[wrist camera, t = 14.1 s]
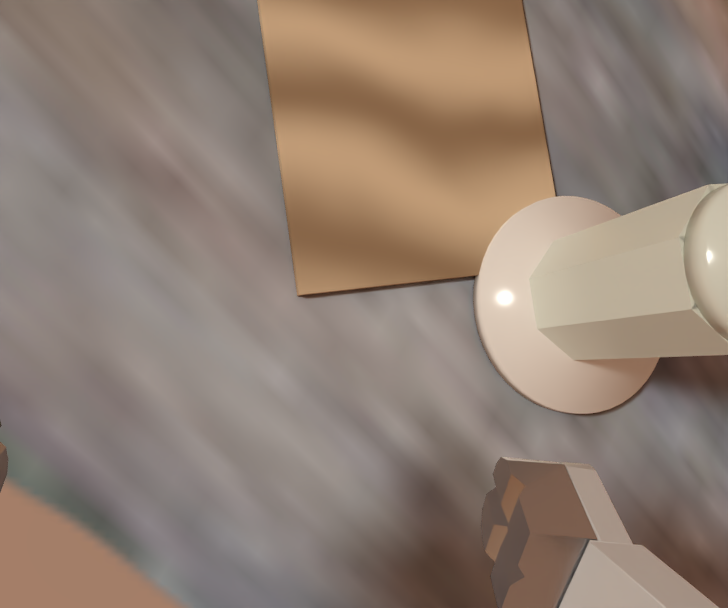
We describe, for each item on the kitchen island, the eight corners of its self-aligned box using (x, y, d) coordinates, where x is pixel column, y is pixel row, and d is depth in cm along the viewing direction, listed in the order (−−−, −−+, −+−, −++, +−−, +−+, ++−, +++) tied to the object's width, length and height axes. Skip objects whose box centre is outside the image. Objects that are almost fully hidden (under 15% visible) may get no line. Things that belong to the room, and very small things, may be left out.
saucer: (456, 207, 28) (464, 202, 27) (635, 194, 31) (646, 190, 31) (492, 430, 27) (501, 432, 27) (672, 393, 31) (684, 394, 30)
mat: (251, -44, 27) (252, -50, 26) (512, -25, 31) (516, -30, 30) (297, 295, 25) (299, 294, 25) (562, 266, 30) (567, 264, 29)
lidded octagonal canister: (523, 243, 28) (726, 164, 17) (622, 234, 30) (861, 158, 19) (542, 365, 28) (763, 359, 17) (642, 348, 29) (897, 335, 19)
